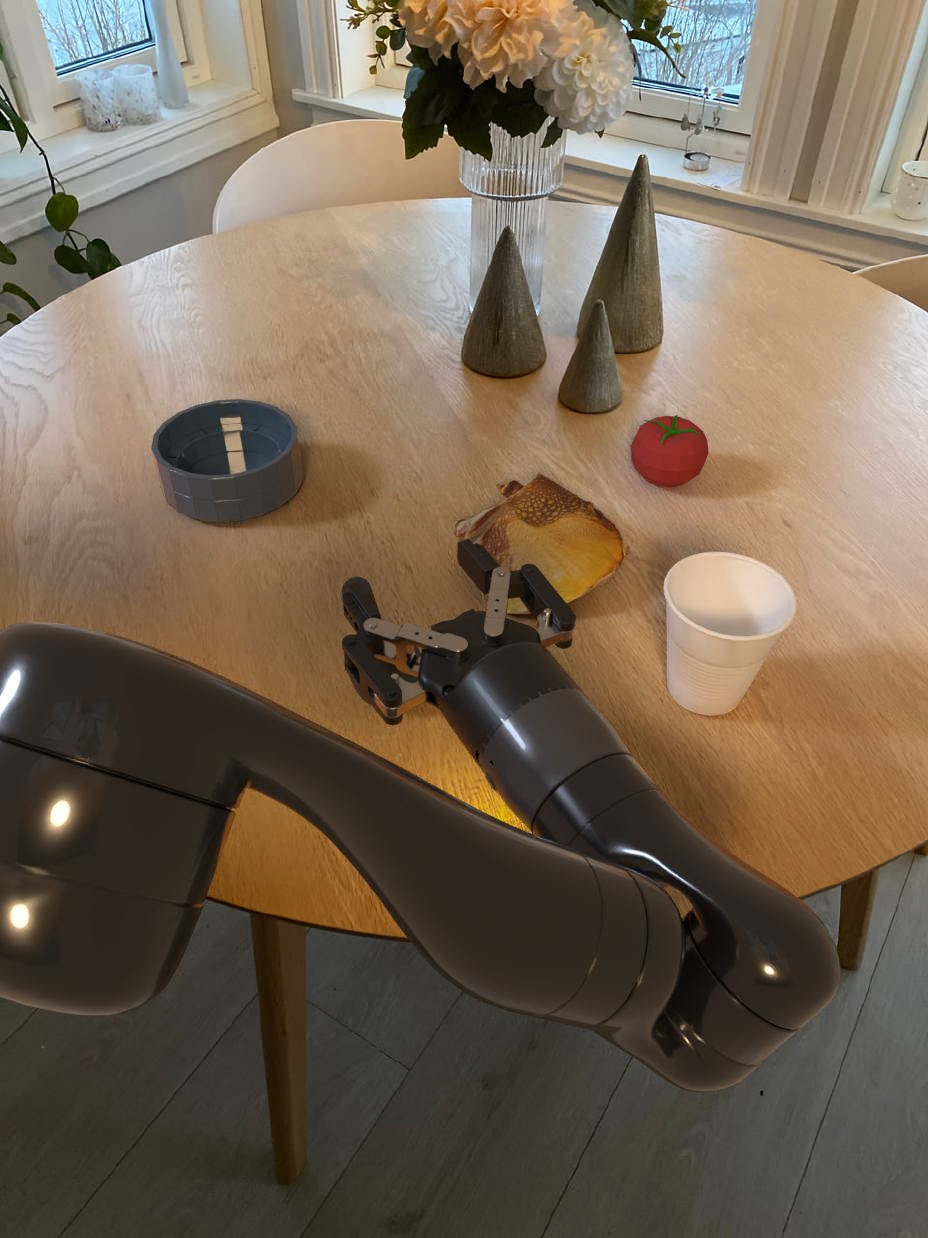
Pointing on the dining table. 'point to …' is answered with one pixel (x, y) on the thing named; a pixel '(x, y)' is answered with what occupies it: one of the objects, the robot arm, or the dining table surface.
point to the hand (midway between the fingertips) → (406, 569)
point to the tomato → (669, 451)
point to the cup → (721, 627)
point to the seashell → (547, 538)
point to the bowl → (228, 460)
